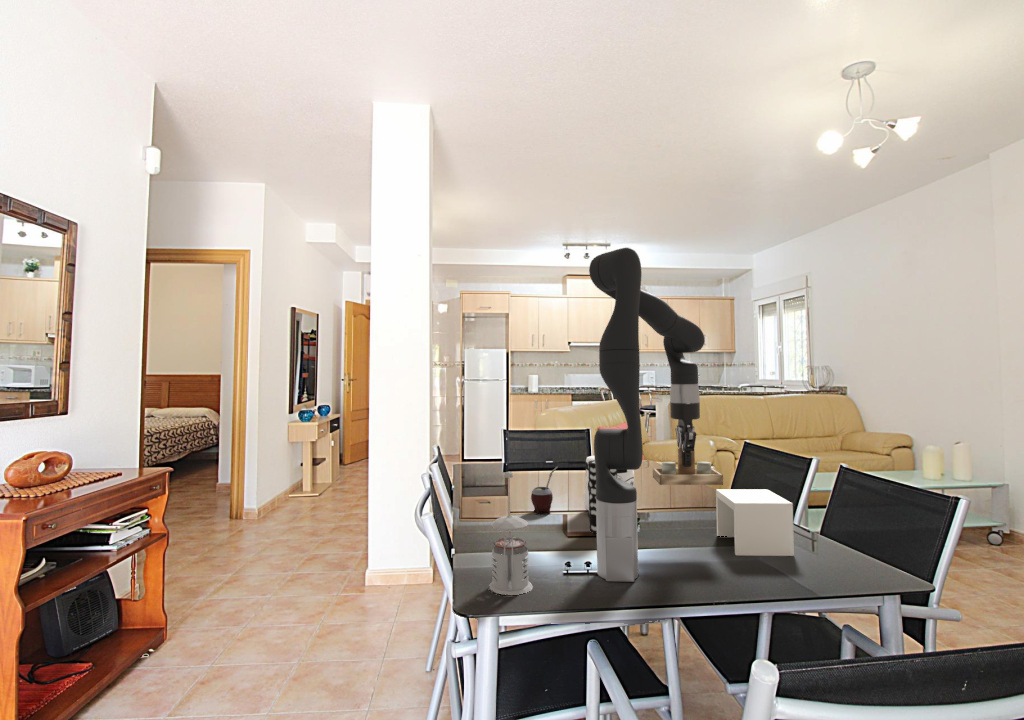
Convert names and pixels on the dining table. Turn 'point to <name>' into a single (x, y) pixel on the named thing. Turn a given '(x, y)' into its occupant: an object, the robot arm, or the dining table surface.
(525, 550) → the french press
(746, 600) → the dining table surface
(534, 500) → the mate gourd
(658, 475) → the tray
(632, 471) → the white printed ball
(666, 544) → the dining table surface
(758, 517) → the white open block
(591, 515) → the white-spotted black cylinder
